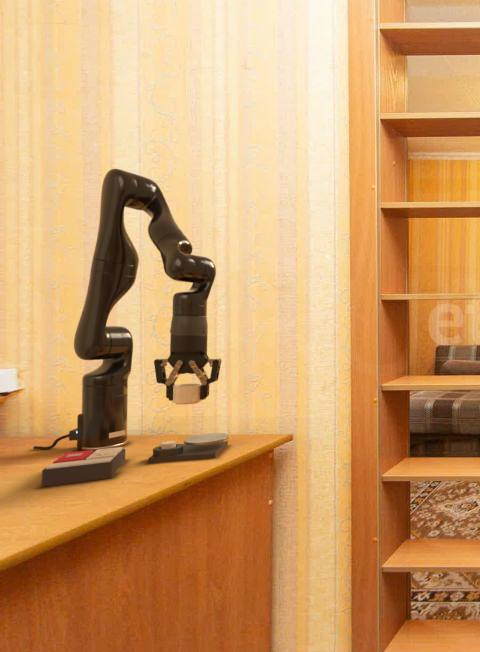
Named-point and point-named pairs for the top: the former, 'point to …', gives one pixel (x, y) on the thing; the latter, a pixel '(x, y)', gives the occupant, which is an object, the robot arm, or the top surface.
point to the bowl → (186, 393)
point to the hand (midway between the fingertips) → (187, 399)
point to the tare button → (168, 444)
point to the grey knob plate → (187, 452)
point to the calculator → (83, 466)
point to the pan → (206, 439)
